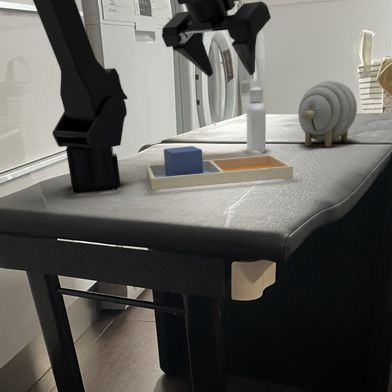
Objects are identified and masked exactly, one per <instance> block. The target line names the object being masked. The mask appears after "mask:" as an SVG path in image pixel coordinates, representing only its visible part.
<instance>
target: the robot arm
mask: <svg viewBox="0 0 392 392" xmlns="http://www.w3.org/2000/svg"><path fill="white" fill-rule="evenodd" d="M176 1H177V3H178V5H185V7H186V11H179V12H176V13H175V15H173V17H171V19H170V20H168V22H166V24H165V25H164V26H163V27H162V29H161V31H162V32H161V38H162V40H163V42H164V45H165V47H166V48H172V50H173V51H174V52H178V53H179V54H180V55H181V56H183V57H184V58H185V59H186V60H188V61H189V62H191V63H192V65H194V66H195V67H196V68H197V69H199V70H200V71H201V72H202V73H203V74H204V75H205V76H207V77H209V78H210V77H212V76H213V74H214V71H213V67H212V64H211V61H210V58H209V54H208V52H207V49H206V46H205V44H204V40H203V39H204V33H209V32H220V31H221V32H222V31H227V33H228V35H229V37H230V39H232V40H233V41H232V42H231V46H232V48H233V50H234V51H235V53H236V55H237V57H238V58H239V60H240V62H241V64H242V65H243V67H244V69H245V70H246V72H247V73H248V76H253V75H254V74H255V72H256V47H257V38H258V34H259V33H260V32H261V31H262V30H263V28H265V26H266V24H267V23H268V22H269V21H270V20H271V18H272V17H271V13H270V10H269V7H268V4H267V3H265V2H264V1H254V2H253V1H252V2H247V3H243V4H241V6H239V8H238V10H237V11H235V13H234V14H229V11H232V10H233V9H234V8H235V6H236V3H235V2H237V1H238V0H176ZM32 2H33V5H34V6H35V10H36V12H37V15H38V16H39V19H40V22H41V25H42V27H43V29H44V32H45V35H46V36H47V39H48V42H49V44H50V46H51V50H52V52H53V54H54V57H55V59H56V62H57V64H58V67H59V70H60V87H59V88H60V89H59V90H60V91H59V95H60V99H61V102H62V103H61V104H62V106H63V113H62V115H61V116H60V118H59V120H58V121H57V123H56V125H55V127H54V129H53V130H52V132H51V133H52V136H53V139H54V141H55V143H56V145H57V146H58V147H60V148H63V147H64V148H65V147H66V149H65V152H66V159H67V164H68V171H69V176H70V177H69V178H70V182H71V192H70V193H71V194H72V195H73V194H84V193H85V194H86V193H98V192H111V191H117V190H118V187H120V186H121V178H120V177H121V175H120V170H119V160H118V155H117V153H113V147H118V146H121V144H122V138H123V130H124V123H125V119H126V117H127V115H128V111H127V104H126V102H125V100H128V96H127V95H126V93H125V92H124V89H123V87H122V84H121V79H120V75H119V73H118V70H117V69H116V68H114V67H112V68H105V67H104V66H102V64H101V63H100V62H99V61H98V59H97V57H96V55H95V53H94V49H93V46H92V43H91V41H90V38H89V36H88V33H87V30H86V27H85V24H84V21H83V18H82V16H81V13H80V10H79V8H78V5H77V1H76V0H32Z"/></svg>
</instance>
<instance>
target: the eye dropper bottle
mask: <svg viewBox="0 0 392 392" xmlns="http://www.w3.org/2000/svg"><path fill="white" fill-rule="evenodd" d="M263 92H264V89H263V88H261V87H260V84H259V81H258V80H254V81H253V85H252V87H251V88H250V89H249V91H248V95H249V96H248V101H249V103H248V104H247V106H246V151H247V152H251V151H252V152H253V151H257V152H260V153H264V152H266V150H267V149H266V147H267V146H266V144H267V142H266V140H267V139H266V138H267V137H266V135H267V133H266V132H267V131H266V130H267V129H266V127H267V126H266V125H267V124H266V123H267V121H266V118H267V116H266V114H267V113H266V112H267V111H266V105H265V104H264V103H263V99H264V97H263V96H264V93H263Z"/></svg>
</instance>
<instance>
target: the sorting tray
mask: <svg viewBox="0 0 392 392" xmlns="http://www.w3.org/2000/svg"><path fill="white" fill-rule="evenodd" d="M145 168H146V169H145V170H146V177H147V180H148V182H149V184H150V188H151V190H152V191H157V190H170V189H179V188H191V187H203V186H212V185H213V186H214V185H225V184H238V183H247V182H259V181H270V180H271V181H272V180H281V179H282V180H283V179H292V178H293V177H294V175H293V174H294V166H293V165H291V164H290V163H287V162H286V161H284V160H282V159H281V158H278V157H277V156H275V155H273V154H265V155H253V156H241V157H231V158H219V159H206V160H205V159H204V160H203V174H191V175H180V176H168V177H166V172H165V163H159V164H146V165H145Z"/></svg>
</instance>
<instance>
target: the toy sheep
mask: <svg viewBox="0 0 392 392" xmlns="http://www.w3.org/2000/svg"><path fill="white" fill-rule="evenodd" d="M357 109H358V104H357V99H356V97H355V94H354V92H353V91H352V90H351V89H350V87H349V86H347V85H346V84H344V83H342V82H339V81H335V80H324V81H321V82H319V83H317V84H315V85H314V86H312V87H310V88H309V89H308V90H307V91H306V92H305V93H304V94H303V96H302V97H301V100H300V102H299V105H298V122H299V125H300V127H301V129H302V131H303V132H304V134H305V135H304V145H305V147H311V145H312V144H313V143H312V141H313V140H314V141H318V142H324V146H325V147H326V148H330V147H331V146H332V141H335V140H337V139H339V138H340V141H342V142H347V141H348V138H349V137H348V134H349V129H350V128H351V126H352V125H353V123H354V121H355V120H356V116H357V111H358V110H357Z"/></svg>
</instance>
